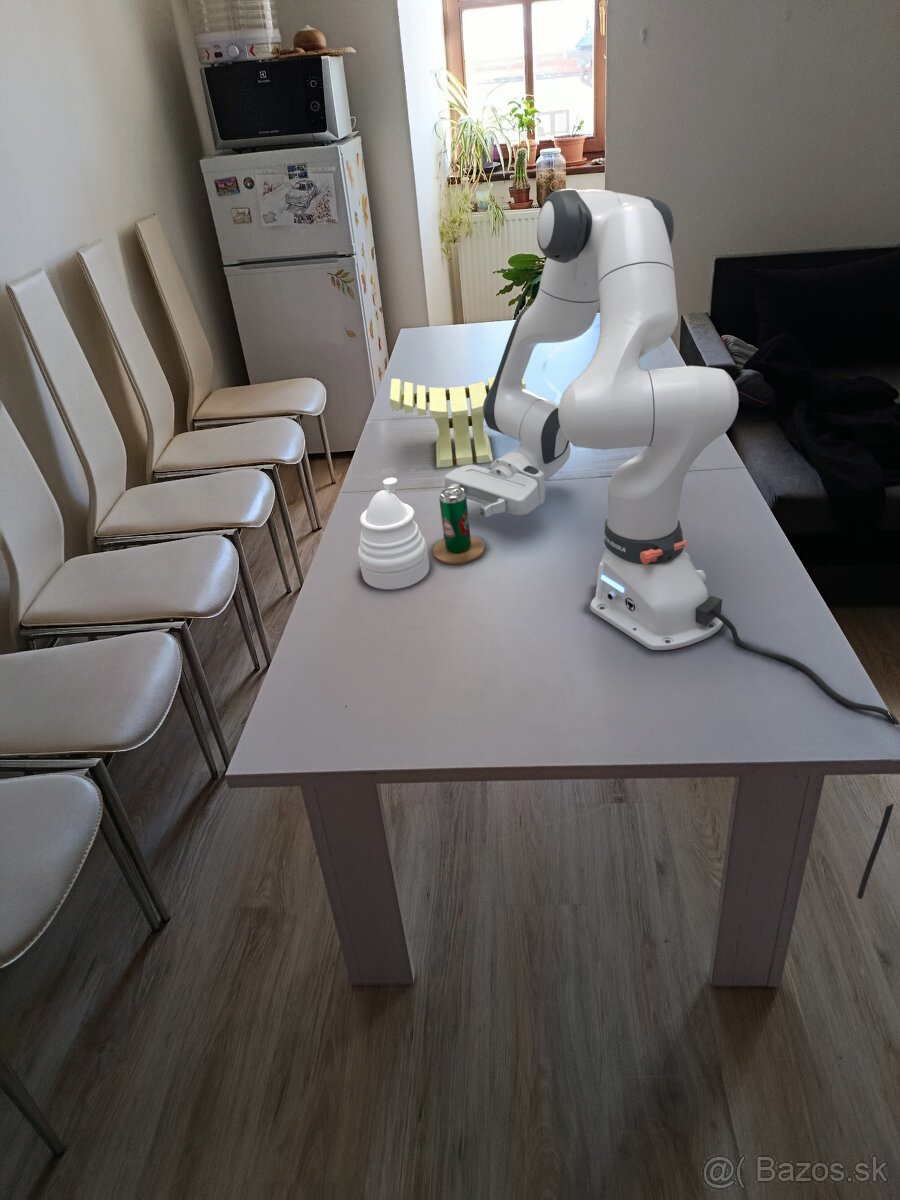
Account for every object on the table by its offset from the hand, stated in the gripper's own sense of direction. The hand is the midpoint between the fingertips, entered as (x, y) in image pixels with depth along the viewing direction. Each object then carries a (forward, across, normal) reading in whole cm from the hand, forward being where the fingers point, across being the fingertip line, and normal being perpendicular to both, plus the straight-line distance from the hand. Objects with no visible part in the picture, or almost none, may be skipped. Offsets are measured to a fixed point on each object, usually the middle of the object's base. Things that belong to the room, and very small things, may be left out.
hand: (464, 506), depth 150 cm
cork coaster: (+3, 0, +8) cm, 9 cm away
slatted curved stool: (-32, -30, +9) cm, 45 cm away
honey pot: (+15, -6, +9) cm, 18 cm away
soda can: (+3, 0, +8) cm, 9 cm away
